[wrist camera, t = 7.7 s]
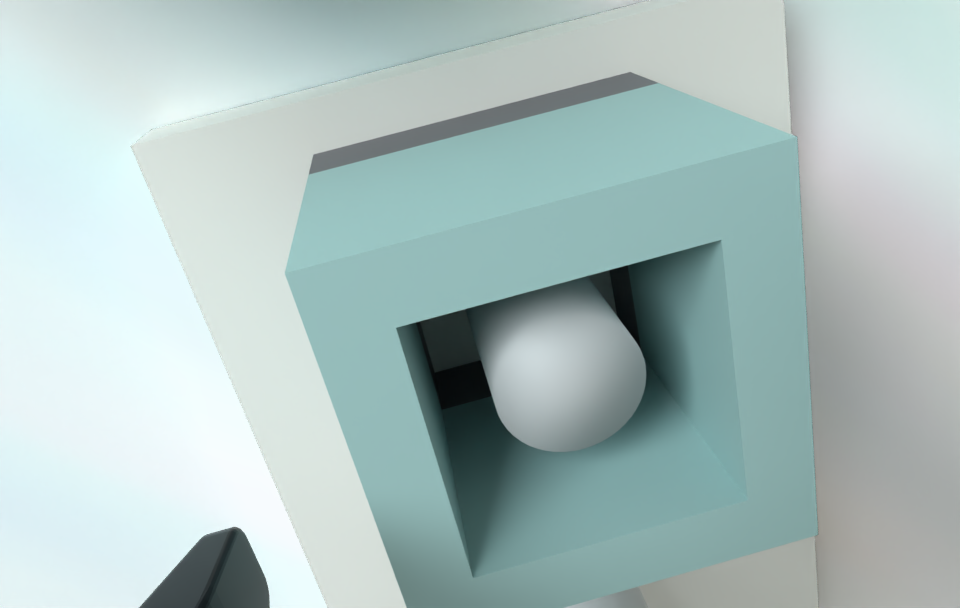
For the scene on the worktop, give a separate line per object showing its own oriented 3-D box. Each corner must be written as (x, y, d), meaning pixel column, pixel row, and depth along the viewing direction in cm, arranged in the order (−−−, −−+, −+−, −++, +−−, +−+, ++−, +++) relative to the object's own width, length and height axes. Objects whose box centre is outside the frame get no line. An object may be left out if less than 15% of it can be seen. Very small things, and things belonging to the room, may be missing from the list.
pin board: (790, 570, 22) (948, 791, 16) (381, 689, 22) (390, 960, 16) (744, -25, 15) (985, -19, 9) (150, 129, 15) (15, 236, 9)
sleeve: (669, 350, 17) (818, 534, 11) (400, 424, 17) (421, 648, 11) (630, 71, 14) (796, 137, 9) (313, 154, 14) (284, 273, 9)
